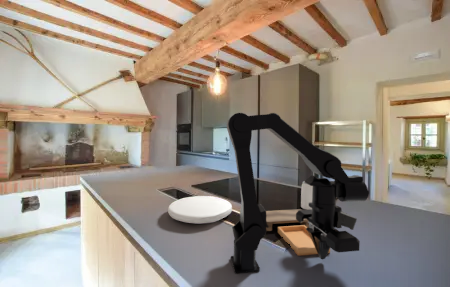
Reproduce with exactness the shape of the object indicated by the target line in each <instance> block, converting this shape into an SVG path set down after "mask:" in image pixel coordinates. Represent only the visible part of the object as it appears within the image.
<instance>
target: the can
mask: <svg viewBox="0 0 450 287" xmlns="http://www.w3.org/2000/svg"><path fill="white" fill-rule="evenodd" d="M312 188H313V186H310V185H308V184H306V183H305V180H303V181H302V184H301V190H300V194H301V195H300V207H301V208H302V210H311V209H312V208H311V207H309V203H312Z"/></svg>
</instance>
